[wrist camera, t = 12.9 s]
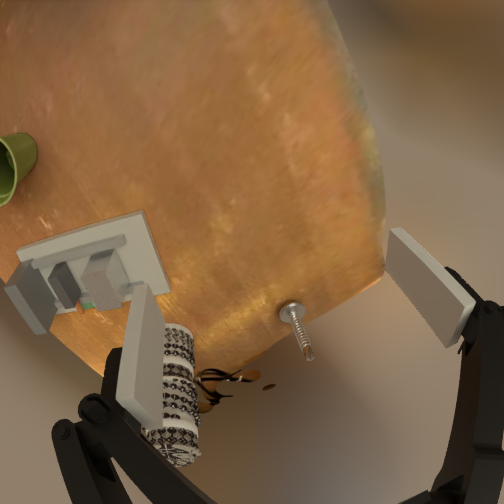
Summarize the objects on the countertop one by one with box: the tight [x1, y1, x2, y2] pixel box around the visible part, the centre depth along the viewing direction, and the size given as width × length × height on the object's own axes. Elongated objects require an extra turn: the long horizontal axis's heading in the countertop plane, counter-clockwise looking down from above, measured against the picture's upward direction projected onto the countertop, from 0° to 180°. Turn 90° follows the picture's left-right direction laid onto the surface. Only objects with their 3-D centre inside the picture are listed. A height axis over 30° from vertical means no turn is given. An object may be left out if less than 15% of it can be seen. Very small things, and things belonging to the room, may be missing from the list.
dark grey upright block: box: [47, 262, 85, 314], centre depth 40 cm, size 9×2×4 cm, turn 8°
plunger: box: [81, 249, 129, 312], centre depth 39 cm, size 6×4×6 cm, turn 8°
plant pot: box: [0, 133, 37, 207], centre depth 27 cm, size 9×9×9 cm
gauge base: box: [4, 210, 171, 335], centre depth 39 cm, size 14×24×8 cm, turn 98°
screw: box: [279, 301, 314, 361], centre depth 48 cm, size 13×5×5 cm
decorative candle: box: [142, 323, 201, 467], centre depth 43 cm, size 9×9×25 cm
